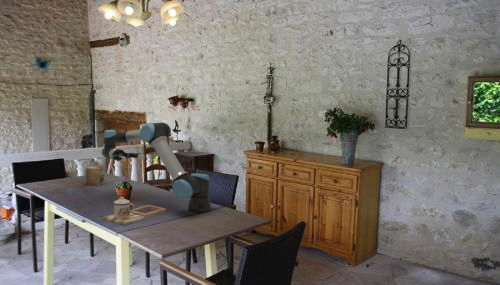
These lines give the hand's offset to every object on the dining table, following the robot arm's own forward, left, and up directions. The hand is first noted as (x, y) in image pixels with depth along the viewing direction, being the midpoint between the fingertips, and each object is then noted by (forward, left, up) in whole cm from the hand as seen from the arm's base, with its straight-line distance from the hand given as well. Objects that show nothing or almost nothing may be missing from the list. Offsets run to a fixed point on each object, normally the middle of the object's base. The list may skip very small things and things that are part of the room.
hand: (134, 158), depth 264 cm
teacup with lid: (-15, +21, -31) cm, 40 cm away
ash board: (-15, +21, -32) cm, 41 cm away
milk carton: (+77, -29, -32) cm, 88 cm away
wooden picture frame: (-15, +3, -32) cm, 35 cm away
